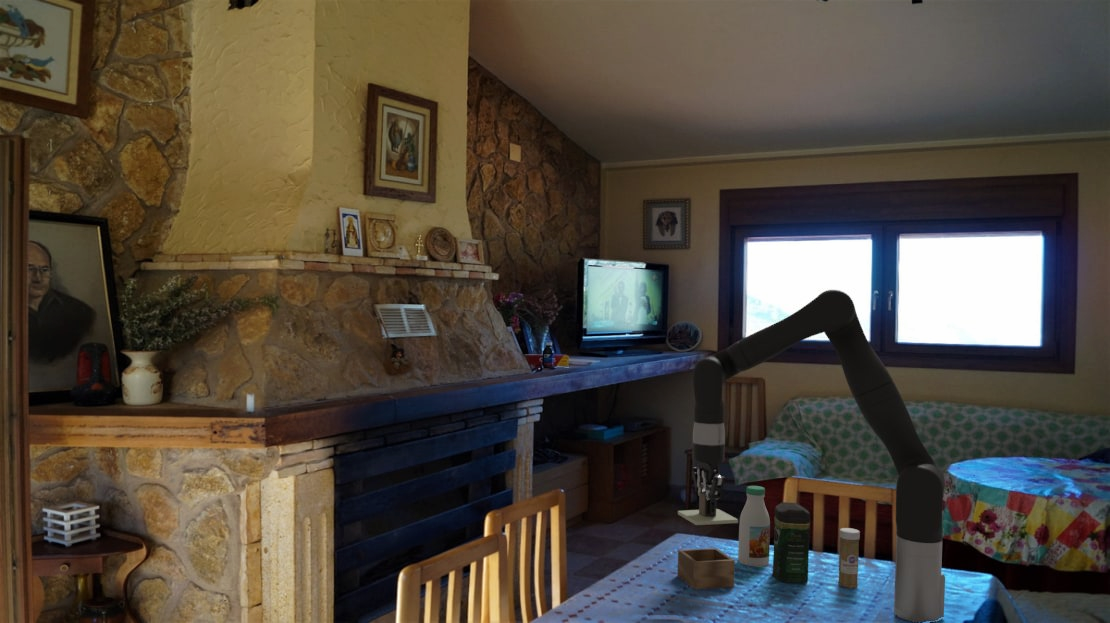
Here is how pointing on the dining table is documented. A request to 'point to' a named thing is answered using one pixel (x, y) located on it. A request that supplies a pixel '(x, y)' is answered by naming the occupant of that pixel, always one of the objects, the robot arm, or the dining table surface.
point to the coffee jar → (791, 543)
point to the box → (706, 568)
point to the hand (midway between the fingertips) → (707, 513)
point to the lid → (702, 519)
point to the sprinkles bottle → (848, 557)
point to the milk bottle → (754, 529)
